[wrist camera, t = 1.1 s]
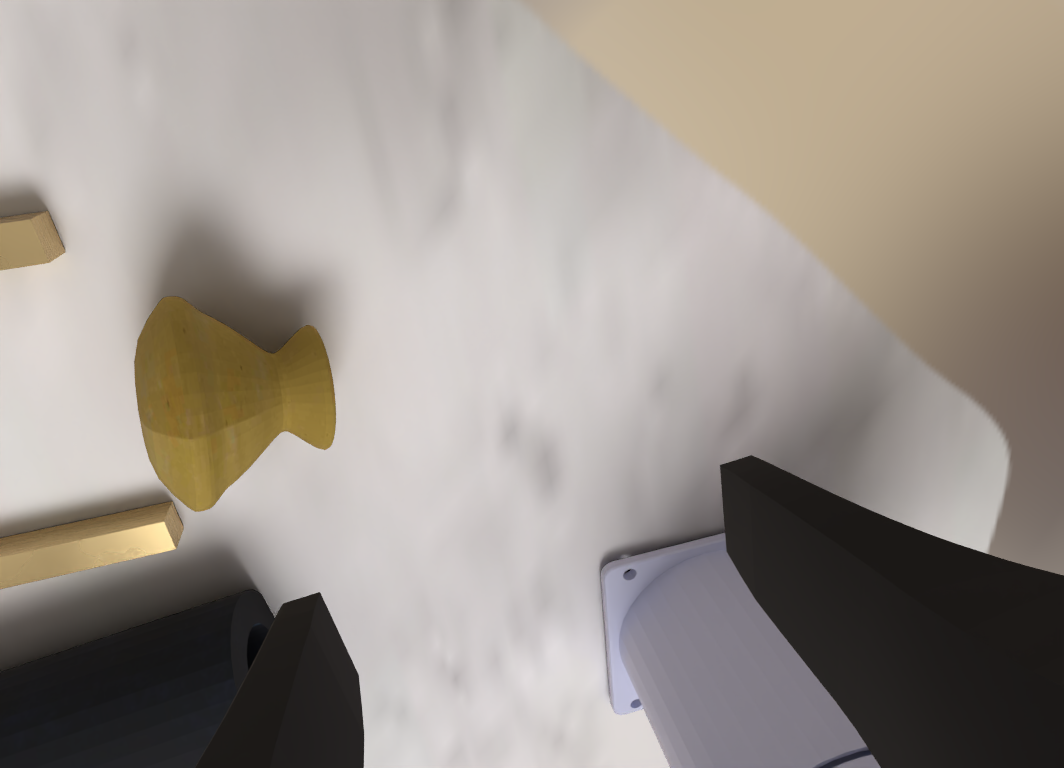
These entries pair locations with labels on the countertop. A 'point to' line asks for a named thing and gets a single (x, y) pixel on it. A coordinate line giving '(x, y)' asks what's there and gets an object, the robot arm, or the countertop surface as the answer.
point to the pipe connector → (133, 691)
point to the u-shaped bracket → (91, 538)
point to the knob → (223, 399)
